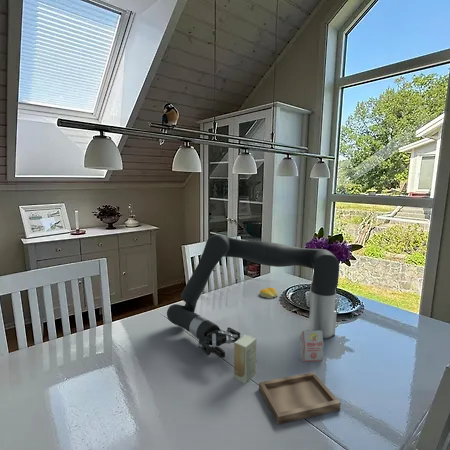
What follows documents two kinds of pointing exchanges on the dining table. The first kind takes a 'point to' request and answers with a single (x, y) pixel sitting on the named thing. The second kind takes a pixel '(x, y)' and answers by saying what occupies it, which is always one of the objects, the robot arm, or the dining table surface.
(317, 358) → the white boxy package
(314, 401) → the walnut tray
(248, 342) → the skincare box
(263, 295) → the bread roll
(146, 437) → the dining table surface
